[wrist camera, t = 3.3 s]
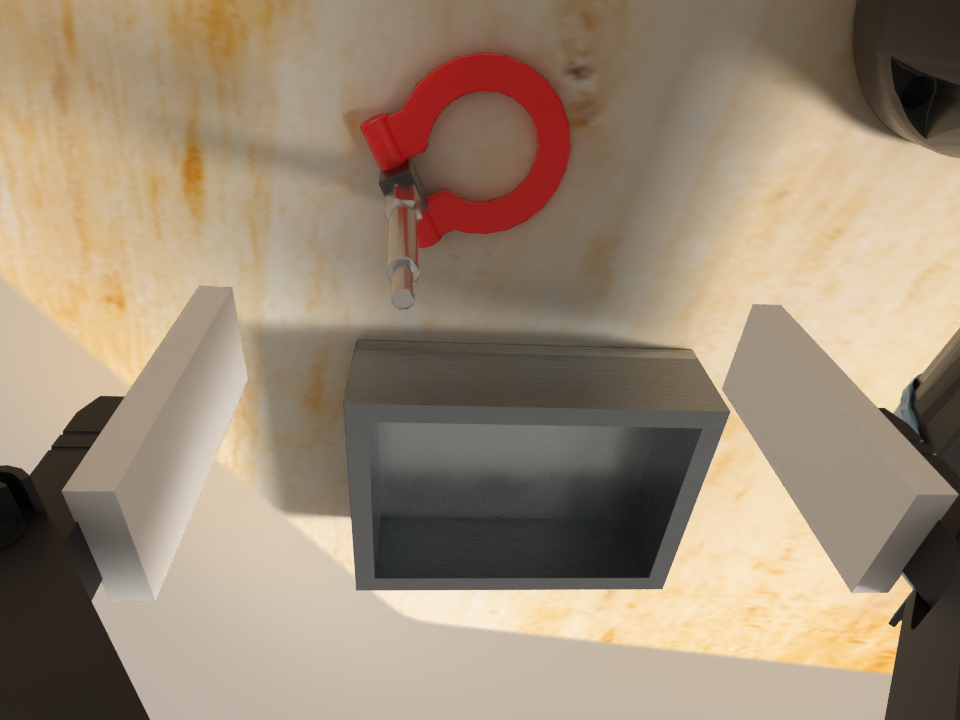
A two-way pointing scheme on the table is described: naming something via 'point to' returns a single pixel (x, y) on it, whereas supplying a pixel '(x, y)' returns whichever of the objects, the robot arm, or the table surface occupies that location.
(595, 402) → the grey open box
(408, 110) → the tow hook
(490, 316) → the table surface
